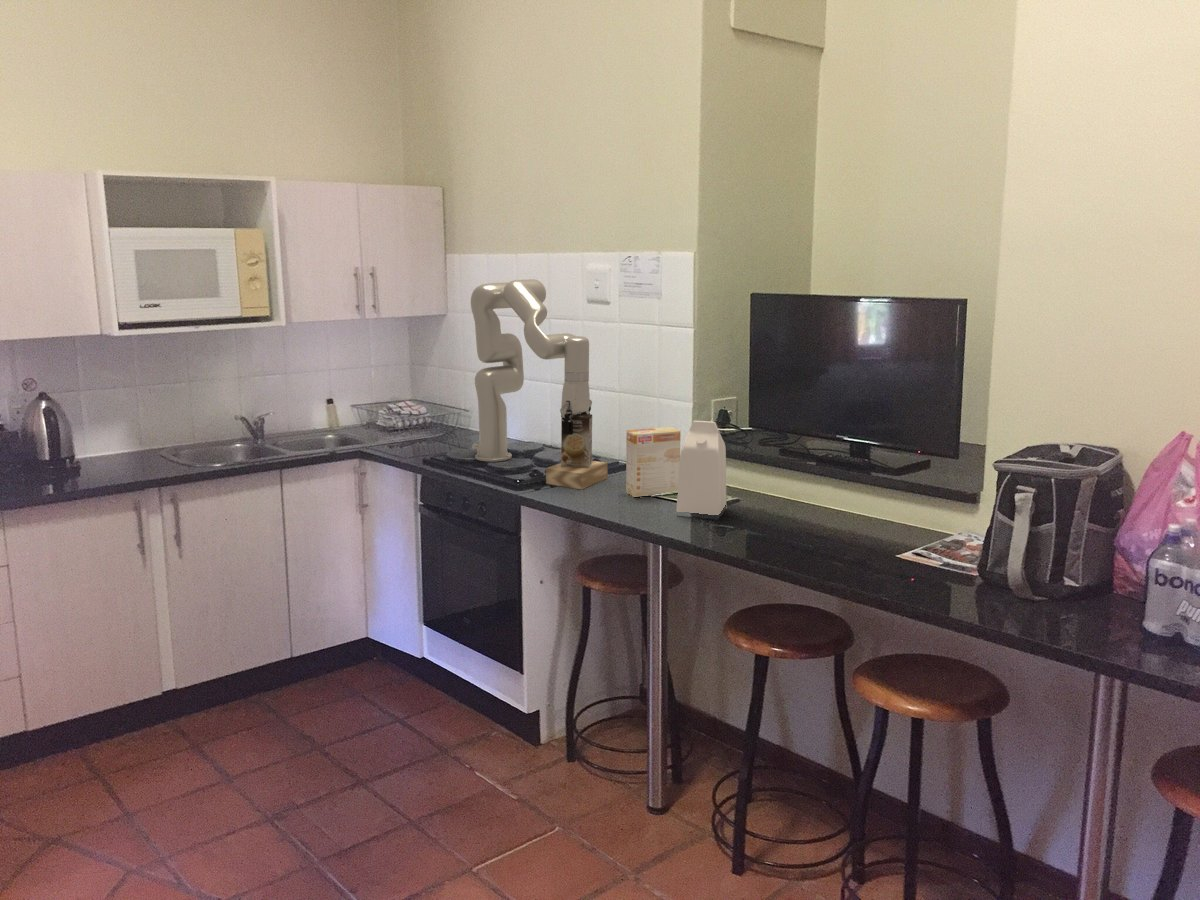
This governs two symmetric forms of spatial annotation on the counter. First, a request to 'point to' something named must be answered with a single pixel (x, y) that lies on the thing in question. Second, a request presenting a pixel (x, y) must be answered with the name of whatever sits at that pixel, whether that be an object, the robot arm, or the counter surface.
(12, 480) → the counter surface
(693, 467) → the milk
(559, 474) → the oak block
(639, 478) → the coffeecake box
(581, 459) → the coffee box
